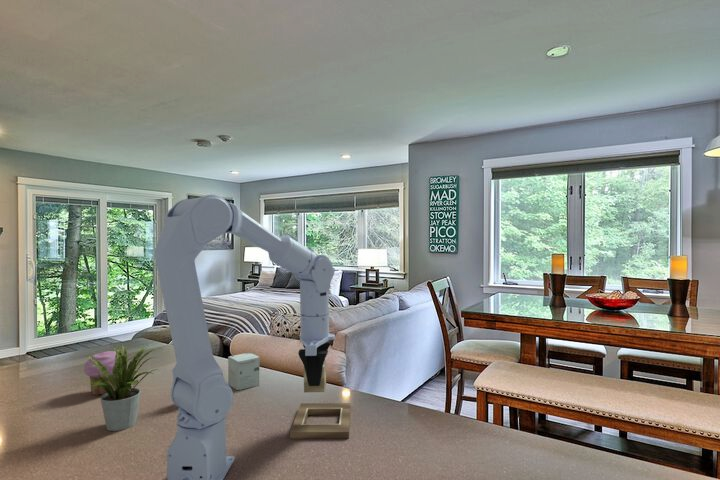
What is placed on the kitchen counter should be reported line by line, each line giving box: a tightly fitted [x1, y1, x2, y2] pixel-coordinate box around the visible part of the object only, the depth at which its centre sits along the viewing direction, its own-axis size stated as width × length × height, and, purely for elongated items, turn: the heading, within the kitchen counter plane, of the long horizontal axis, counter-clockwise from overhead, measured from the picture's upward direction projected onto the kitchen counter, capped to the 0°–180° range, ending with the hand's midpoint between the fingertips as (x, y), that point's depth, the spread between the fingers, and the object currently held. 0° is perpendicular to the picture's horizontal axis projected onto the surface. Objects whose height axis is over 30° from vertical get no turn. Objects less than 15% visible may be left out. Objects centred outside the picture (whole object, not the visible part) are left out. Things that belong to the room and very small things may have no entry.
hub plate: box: [289, 402, 352, 439], centre depth 81 cm, size 13×11×1 cm
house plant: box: [84, 342, 163, 432], centre depth 81 cm, size 14×14×16 cm
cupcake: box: [83, 350, 116, 396], centre depth 99 cm, size 9×9×10 cm
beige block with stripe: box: [303, 360, 327, 393], centre depth 81 cm, size 4×4×5 cm
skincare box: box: [227, 352, 260, 391], centre depth 103 cm, size 6×6×7 cm
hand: (315, 381), depth 81 cm, fingers closed on beige block with stripe, 4 cm apart
